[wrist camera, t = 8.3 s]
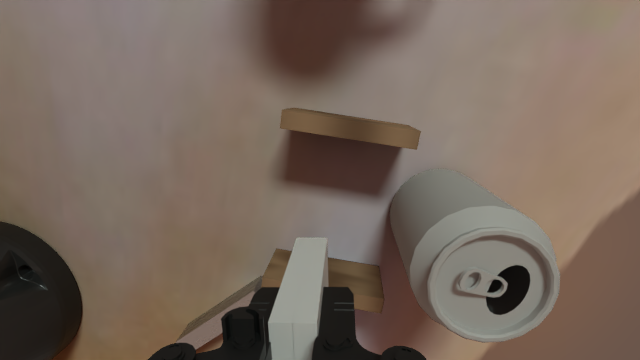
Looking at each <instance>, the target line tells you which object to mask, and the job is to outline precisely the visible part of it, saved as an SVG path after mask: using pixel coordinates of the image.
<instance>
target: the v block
mask: <svg viewBox="0 0 640 360" xmlns="http://www.w3.org/2000/svg"><path fill="white" fill-rule="evenodd" d="M261 285H262V276H260V277H258V278H257V279H255V280H254V281H252V282H251V283H249V284H248V285H246V286H245V287H243V288H242V289H240V290H239V291H237V292H236V293H234V294H233V295H231V296H230V297H228V298H227V299H225V300H224V301H222V302H221V303H219V304H218V305H216V306H215V307H213V308H212V309H210V310H209V311H207V312H206V313H204V314H203V315H201V316H200V317H198V318H197V319H195V320H194V321H192V322H191V323H189V324H188V325H187V327H186V328H185V330H184V331H183V332H182V334H181V335H180V337H179V338H178V339H177V341H176V343H188V344H191V345H193V347H194V348H195V350H196V349H198V348H199V347H201V346H203V345H204V344H206V343H207V342H209V341H210V340H212V339H213V338H215V337H217V336H218V335H220V334H221V333H223V332H222V323H221V318H222V317H223V316H224V315H225V314H226V313H227V312H229V311H230V310H232V309H235V308H238V307H246V306H249V304H250V302H251V300H252V297H253V295H254V294H255V293H256V292H257V291H258V290H259V289H260V288H261Z"/></svg>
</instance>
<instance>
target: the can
mask: <svg viewBox="0 0 640 360" xmlns="http://www.w3.org/2000/svg"><path fill="white" fill-rule="evenodd" d="M390 221H391V228H392V231H393V234H394V237H395V240H396V243H397V246H398V249H399V252H400V255H401V258H402V261H403V264H404V267H405V270H406V273H407V276H408V280H409V283H410V286H411V288H412V291H413V293H414V295H415V297H416V300H417V302H418V304H419V306H420V307H421V308H422V309H423V310H424V311H425V312H426V313H427V314H428V315H429V316H430V318H431V319H432V320H434V321H436V322H438V323H439V324H441V325H443V326H445V327H446V328H447V329H448V330H450V331H452V332H454V333H456V334H457V335H459V336H461V337H463V338H466V339H470V340H474V341H479V342H503V341H506V340H510V339H512V338H516V337H519V336H522V335H524V334H525V333H527V332H529V331H530V330H532V329H533V328H535V327H536V326H538V325H539V324H540V323H541V322H542V321H543V320H544V319H545V317H546V316H547V315H548V314H549V313H550V312H551V310H552V309H553V306H554V304H555V301H556V299H557V297H558V294H559V284H560V273H559V270H558V267H557V264H556V256H555V253H554V250H553V247H552V244H551V241H550V238H549V237H548V236H547V235H546V234H545V232H544V231H543V230H542V229H541V228H540V227H539V225H538V224H537V223H536V222H535V221H533V220H532V219H530V218H529V217H527V216H526V215H524V214H523V213H521V212H520V211H518V210H517V209H515V208H514V207H512V206H511V205H509V204H508V203H506V202H505V201H503V200H502V199H500V198H499V197H497V196H496V195H494V194H493V193H491V192H490V191H488V190H487V189H485V188H484V187H482V186H481V185H479V184H478V183H476V182H475V181H473V180H472V179H470V178H468V177H467V176H465V175H463V174H461V173H460V172H457V171H452V170H448V169H434V170H427V171H424V172H422V173H419V174H417V175H414V176H413V177H411V178H410V179H409V180H408V181H407V182H405V183H404V184H403V185H402V186H401V187H400V189H399V190H398V192H397V193H396V195H395V196H394V198H393V201H392V205H391V209H390Z"/></svg>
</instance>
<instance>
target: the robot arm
mask: <svg viewBox="0 0 640 360" xmlns="http://www.w3.org/2000/svg"><path fill="white" fill-rule="evenodd" d="M80 319H81V299H80V294H79V290H78V287H77V284H76V282H75V280H74V277H73V275H72V273H71V272H70V270H69V268H68V267H67V265H66V264H65V262H64V261H63V260H62V259H61V257H60V256H59V255H58V254H57V253H56V252H55V251H54V250H53V249H52V248H51V247H50V246H49V245H48V244H47V243H45V242H44V241H43V240H42V239H40V238H39V237H37V236H36V235H34V234H32V233H31V232H29V231H27V230H25V229H23V228H20V227H18V226H15V225H12V224H9V223H5V222H0V360H51V359H53V358H54V357H55V356H56V355H57V354H58V353H59V352H61V351H62V350H63V349H64V348H65V347H66V346H67V345H68V344H69V343H70V342H71V341H72V339H73V338H74V336H75V334H76V332H77V330H78V327H79V324H80ZM221 323H222V332H223V344H222V346H221V347H220V348H218V349H215V350H212V351H208V352H203V353H198V354H196V350H195V348H194V347H193V345H191V344H188V343H174V344H170V345H168V346H166V347H163V348H161V349H160V350H159V351H157V352H156V353H154V354H153V355H152V356H151V357H150V358H149V359H148V360H426V358H425V357H424V356H423V355H422V354H421V353H420V352H418V351H416V350H415V349H413V348H409V347H405V346H394V347H391V348H388V349H387V350H385V351H384V352H383V353H382V355H379V354H375V353H372V352H370V351H367V350H366V349H364V348H363V347H362V346H361V345H360V344H359V343H358V341H357V340H356V334H355V313H354V294H353V293H352V291H351V290H350V289H349V287H329V286H328V249H327V238H296V241H295V244H294V247H293V250H292V253H291V256H290V259H289V262H288V265H287V268H286V271H285V274H284V277H283V280H282V283H281V286H280V287H262V288H260V289H259V290H258V291H257V292H256V293H255V294H254V295H253V297H252V300H251V302H250V304H249V306H246V307H238V308H235V309H232V310H230V311H229V312H227V313H226V314H225V315H224V316H223V317H222V318H221Z"/></svg>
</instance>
